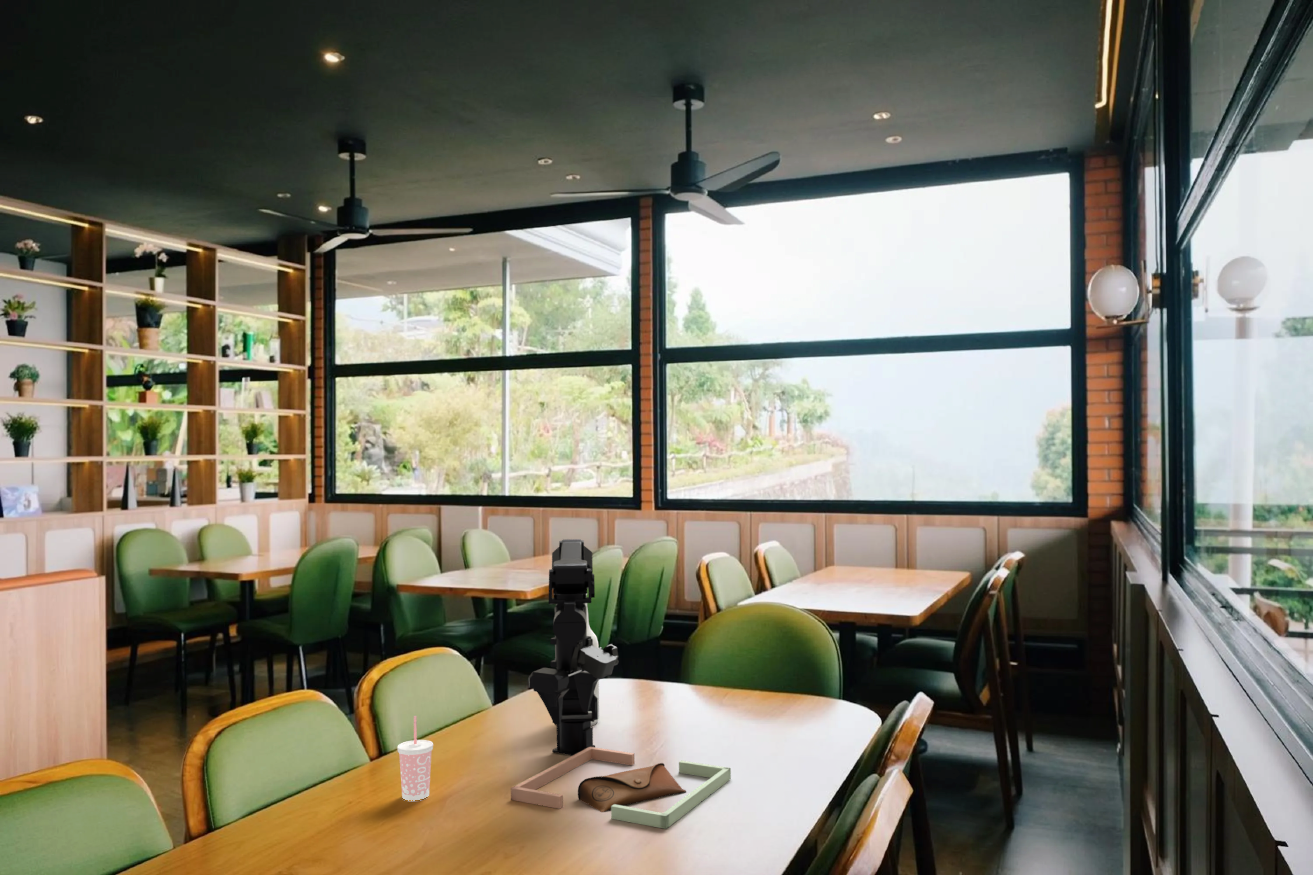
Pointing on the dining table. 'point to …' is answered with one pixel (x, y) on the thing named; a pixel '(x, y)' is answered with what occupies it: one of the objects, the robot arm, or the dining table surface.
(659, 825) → the mint green arch
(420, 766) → the beverage cup
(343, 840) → the dining table surface
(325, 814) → the dining table surface
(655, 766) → the sunglasses case
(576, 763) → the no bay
